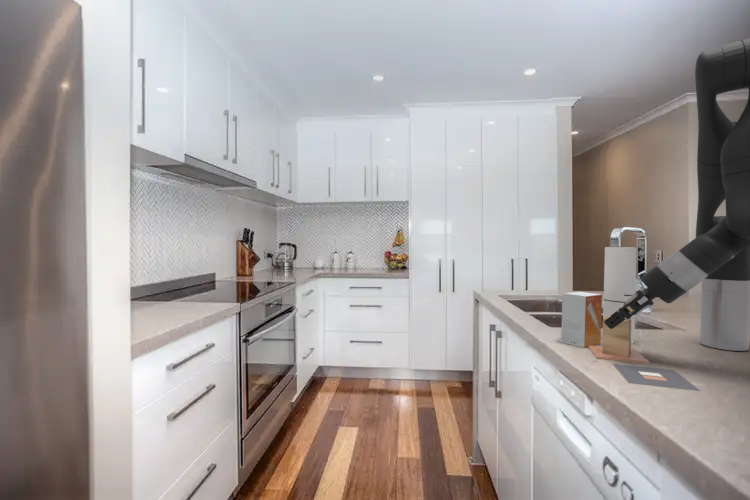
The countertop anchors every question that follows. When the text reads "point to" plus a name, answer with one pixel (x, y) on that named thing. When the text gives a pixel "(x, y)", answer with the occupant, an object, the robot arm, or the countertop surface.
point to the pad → (632, 357)
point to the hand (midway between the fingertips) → (610, 322)
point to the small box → (581, 319)
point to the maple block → (617, 338)
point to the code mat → (654, 377)
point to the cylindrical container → (619, 280)
